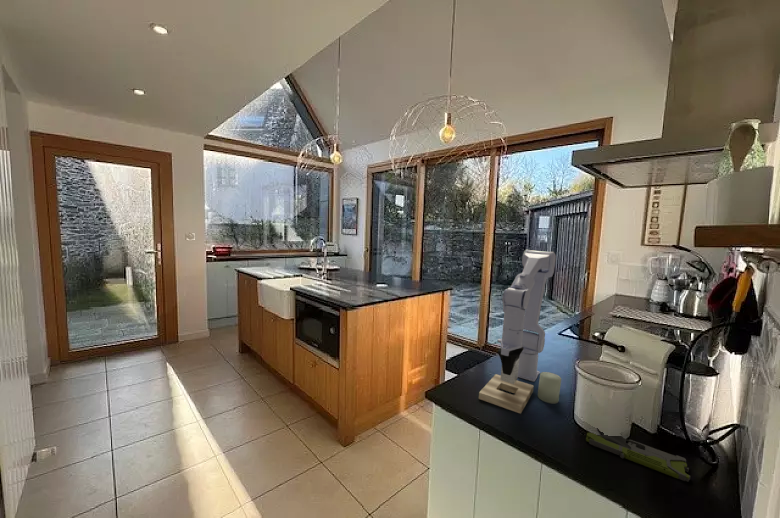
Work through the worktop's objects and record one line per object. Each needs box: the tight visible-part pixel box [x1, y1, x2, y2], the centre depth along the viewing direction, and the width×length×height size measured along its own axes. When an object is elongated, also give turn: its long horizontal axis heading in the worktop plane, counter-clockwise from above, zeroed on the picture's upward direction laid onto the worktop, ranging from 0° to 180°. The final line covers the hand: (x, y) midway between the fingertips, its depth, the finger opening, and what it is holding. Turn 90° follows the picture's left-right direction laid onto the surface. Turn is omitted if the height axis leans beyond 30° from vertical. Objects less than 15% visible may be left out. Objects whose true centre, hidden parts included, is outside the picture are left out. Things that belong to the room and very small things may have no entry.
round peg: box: [536, 371, 562, 405], centre depth 99 cm, size 6×6×7 cm
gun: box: [585, 430, 691, 483], centre depth 79 cm, size 2×19×15 cm
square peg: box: [500, 357, 519, 384], centre depth 99 cm, size 4×4×7 cm
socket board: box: [478, 373, 535, 415], centre depth 100 cm, size 16×12×2 cm
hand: (508, 371), depth 100 cm, fingers closed on square peg, 4 cm apart
